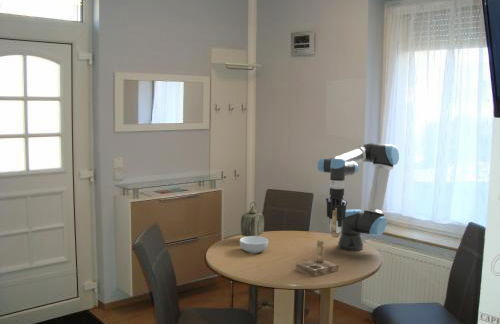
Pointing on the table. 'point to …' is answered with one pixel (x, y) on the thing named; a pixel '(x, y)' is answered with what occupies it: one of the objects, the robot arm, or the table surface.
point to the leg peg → (334, 223)
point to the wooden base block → (317, 264)
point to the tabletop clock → (252, 223)
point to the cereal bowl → (253, 244)
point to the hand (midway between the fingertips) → (335, 231)
